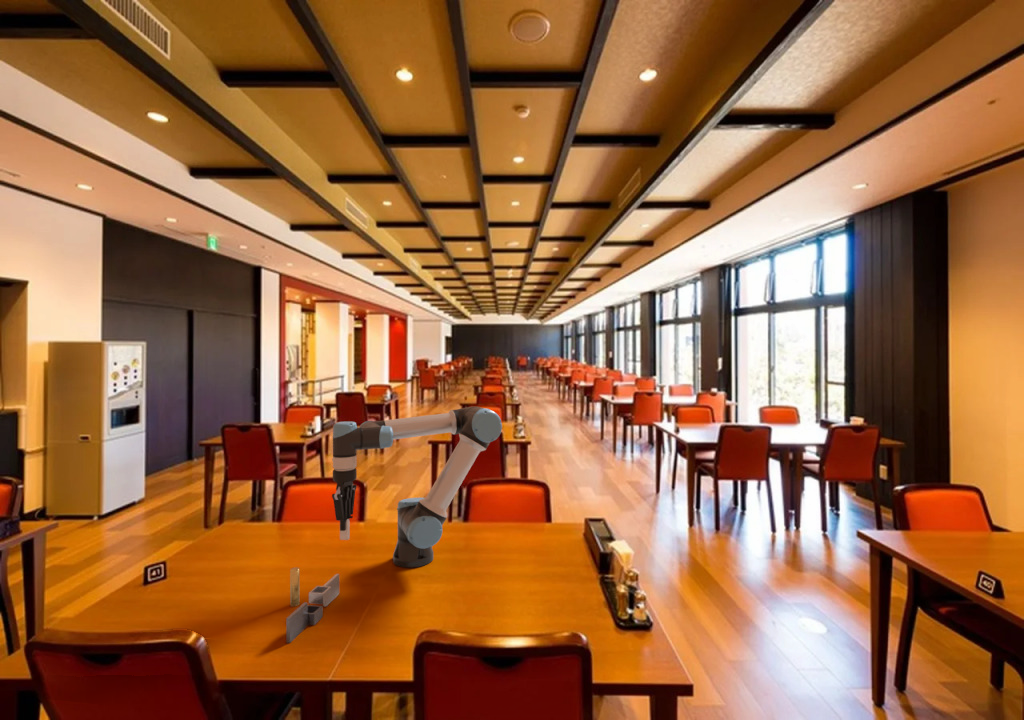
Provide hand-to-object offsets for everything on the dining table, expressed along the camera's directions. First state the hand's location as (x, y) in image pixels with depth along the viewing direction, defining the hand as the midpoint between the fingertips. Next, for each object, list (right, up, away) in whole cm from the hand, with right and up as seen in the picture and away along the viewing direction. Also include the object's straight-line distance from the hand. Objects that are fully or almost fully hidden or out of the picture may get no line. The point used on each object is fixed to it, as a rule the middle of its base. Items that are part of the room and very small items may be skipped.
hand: (344, 538), depth 163 cm
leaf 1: (-3, -16, -25) cm, 30 cm away
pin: (-11, -16, -11) cm, 23 cm away
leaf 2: (-1, -16, -11) cm, 20 cm away
